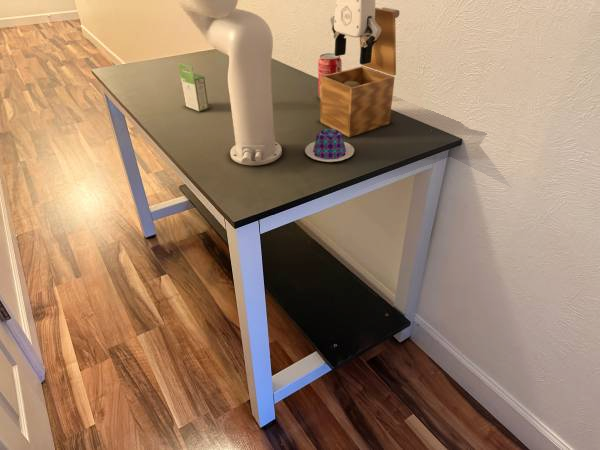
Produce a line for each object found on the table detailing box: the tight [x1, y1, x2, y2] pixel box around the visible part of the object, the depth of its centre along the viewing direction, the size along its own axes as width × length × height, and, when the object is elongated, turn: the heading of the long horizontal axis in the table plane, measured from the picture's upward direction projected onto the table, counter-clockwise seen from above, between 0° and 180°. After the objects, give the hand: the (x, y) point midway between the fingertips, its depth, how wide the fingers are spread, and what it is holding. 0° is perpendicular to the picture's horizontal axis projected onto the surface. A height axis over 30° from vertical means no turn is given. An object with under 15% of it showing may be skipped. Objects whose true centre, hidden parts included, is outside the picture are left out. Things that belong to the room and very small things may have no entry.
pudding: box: [304, 128, 355, 163], centre depth 101 cm, size 12×12×5 cm
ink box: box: [177, 62, 210, 112], centre depth 125 cm, size 7×4×13 cm, turn 47°
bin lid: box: [359, 6, 400, 77], centre depth 108 cm, size 15×13×6 cm
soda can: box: [317, 52, 343, 100], centre depth 129 cm, size 7×7×13 cm
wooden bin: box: [319, 65, 395, 138], centre depth 113 cm, size 15×13×13 cm
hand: (352, 59), depth 105 cm, fingers open, 9 cm apart
